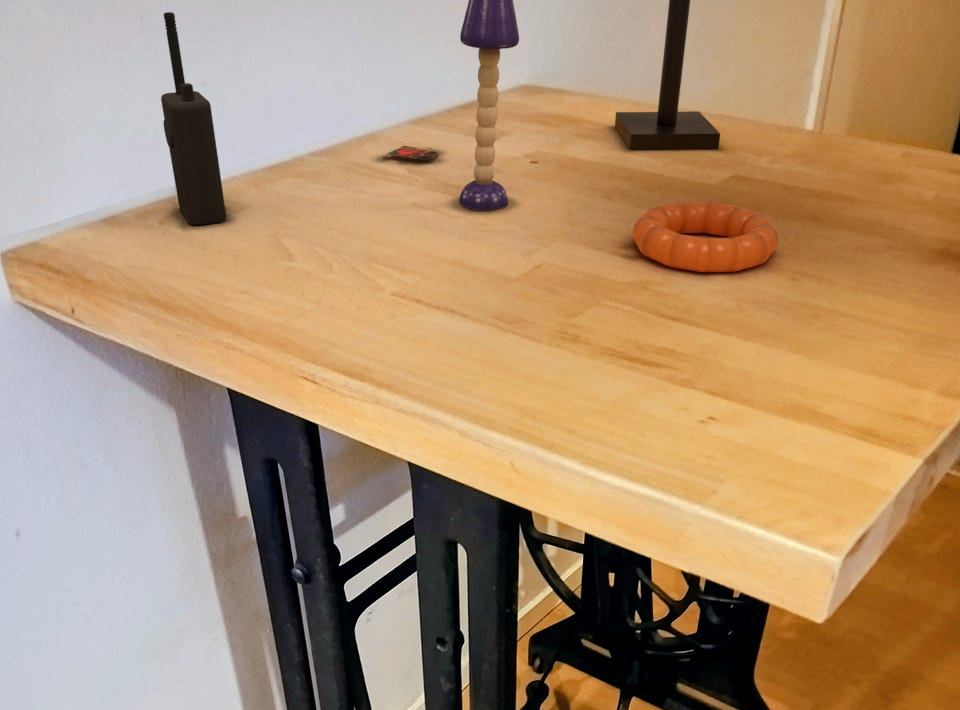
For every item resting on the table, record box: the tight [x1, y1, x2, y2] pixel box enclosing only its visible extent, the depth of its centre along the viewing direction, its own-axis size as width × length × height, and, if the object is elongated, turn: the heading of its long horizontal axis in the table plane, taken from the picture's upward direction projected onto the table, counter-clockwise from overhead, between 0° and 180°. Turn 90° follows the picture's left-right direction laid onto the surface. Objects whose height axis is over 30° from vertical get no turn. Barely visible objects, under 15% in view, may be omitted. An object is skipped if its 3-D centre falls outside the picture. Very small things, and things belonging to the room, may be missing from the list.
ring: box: [631, 201, 780, 273], centre depth 78 cm, size 11×11×2 cm
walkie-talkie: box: [160, 11, 227, 226], centre depth 81 cm, size 5×3×15 cm
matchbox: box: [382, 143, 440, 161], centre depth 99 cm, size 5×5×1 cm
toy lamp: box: [458, 0, 520, 212], centre depth 83 cm, size 5×5×17 cm
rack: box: [614, 0, 721, 151], centre depth 102 cm, size 9×9×14 cm
